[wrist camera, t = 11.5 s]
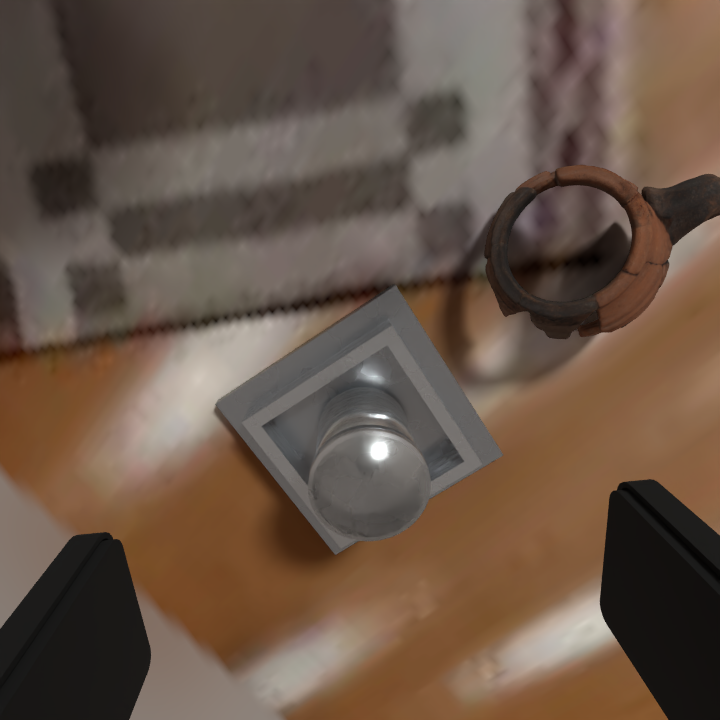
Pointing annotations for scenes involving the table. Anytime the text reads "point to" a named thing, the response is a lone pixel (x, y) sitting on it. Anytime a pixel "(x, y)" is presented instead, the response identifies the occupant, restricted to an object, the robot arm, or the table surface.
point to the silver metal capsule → (367, 467)
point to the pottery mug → (645, 260)
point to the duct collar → (353, 370)
